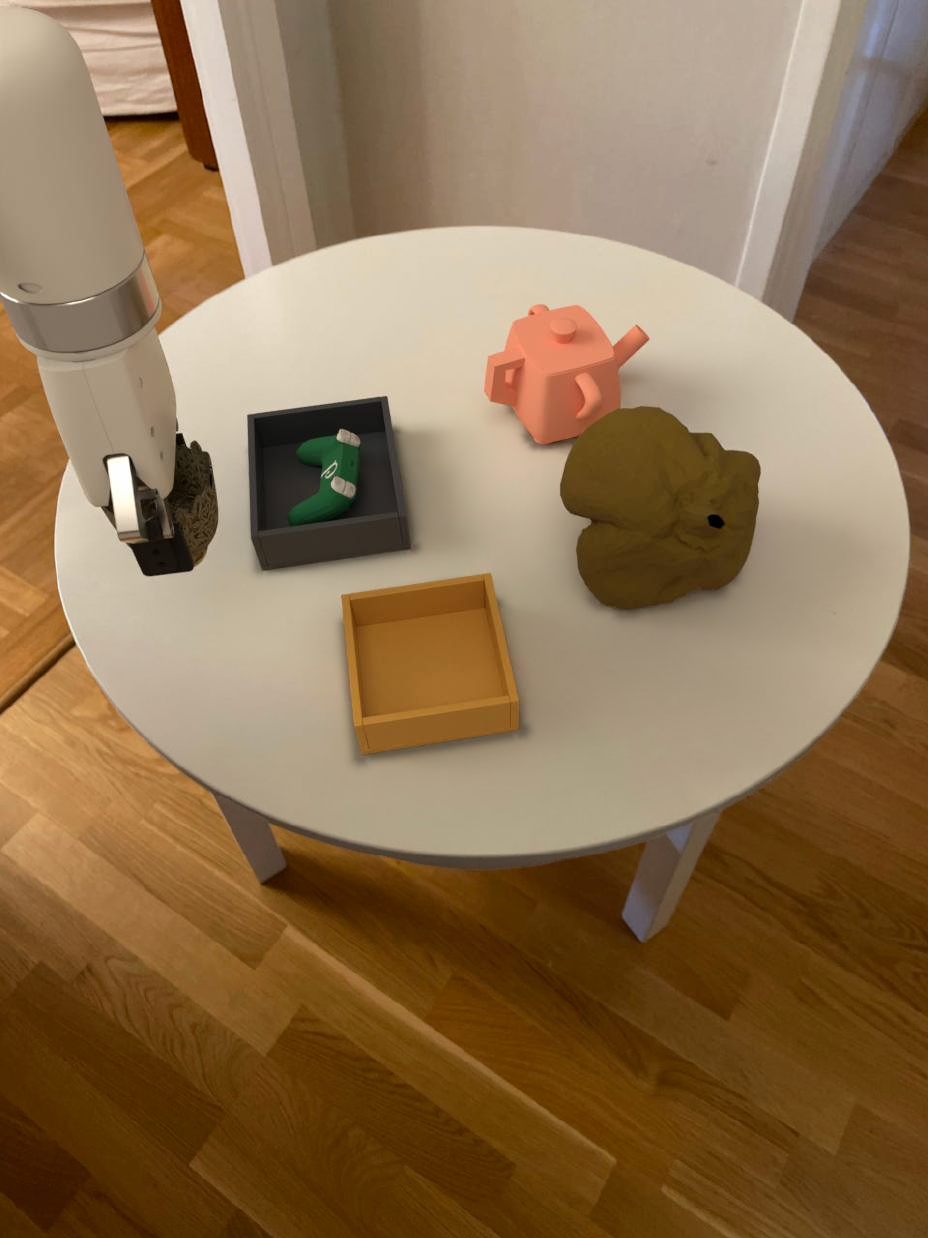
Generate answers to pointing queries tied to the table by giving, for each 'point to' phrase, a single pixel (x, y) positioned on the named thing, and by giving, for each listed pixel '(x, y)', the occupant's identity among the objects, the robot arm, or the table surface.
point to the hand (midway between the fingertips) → (171, 523)
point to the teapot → (559, 371)
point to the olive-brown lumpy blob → (658, 508)
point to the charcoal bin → (289, 482)
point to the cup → (187, 500)
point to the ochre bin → (428, 664)
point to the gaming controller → (329, 477)
